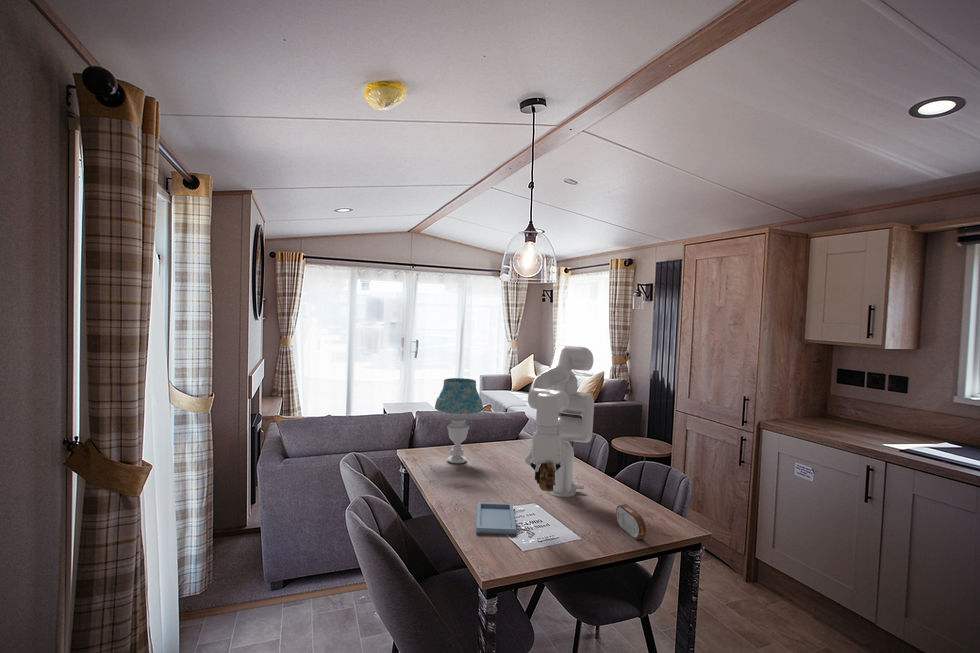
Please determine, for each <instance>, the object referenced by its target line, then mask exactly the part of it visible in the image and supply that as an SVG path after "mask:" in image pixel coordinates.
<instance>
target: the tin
mask: <svg viewBox="0 0 980 653" xmlns="http://www.w3.org/2000/svg"><path fill="white" fill-rule="evenodd" d="M615 510H616V511H615V513H616V514H615V517H616V521H617V524H618V525H619V528H621V529H622V530H623V531H625V532H626V533H627V534H628V535H630V536H631V537H632V538H633V537H634V540H643V539H645V538H646V536H647V526H646V522H645V519H644V518H643V516H642V515H641V514H640V513H639V512H638V511H637V510H635V509H633V508H632V507H631V506H630V505H628V504H627V503H624V504H620V505H618V506H617V507H616V509H615Z"/></svg>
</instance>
